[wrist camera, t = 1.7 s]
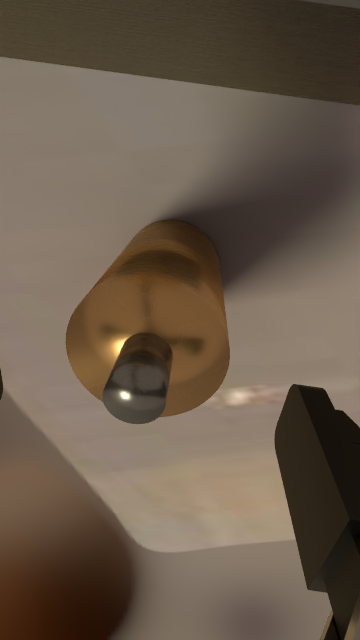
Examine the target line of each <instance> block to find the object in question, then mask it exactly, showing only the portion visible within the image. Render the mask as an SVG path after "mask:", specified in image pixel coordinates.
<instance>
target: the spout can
mask: <svg viewBox="0 0 360 640" xmlns="http://www.w3.org/2000/svg"><path fill="white" fill-rule="evenodd" d="M66 350H67V355H68V359H69V362H70V364H71V367H72V369H73V371H74V373H75V374H76V376H77V378H78V379H79V380H80V382H81V383H82V384H83V385H84V387H85V388H86V389H87V390H88V391H89V392H90V393H92V394H93V395H94V396H95V397H97V398H98V399H99V400H101V401H102V402H103V403H104V405H105V407H106V409H107V410H108V411H109V412H110V413H111V414H112V415H113V416H114V417H116V418H118V419H119V420H122V421H124V422H127V423H132V424H144V423H149V422H151V421H154V420H155V419H157V418H158V417H165V416H172V415H177V414H181V413H184V412H187V411H189V410H192V409H194V408H196V407H198V406H199V405H201V404H202V403H204V402H205V401H206V400H208V399H209V398H210V397H211V396H212V395H213V394H214V393H215V392H216V391H217V389H218V388H219V387H220V385H221V384H222V382H223V380H224V378H225V376H226V373H227V370H228V366H229V360H230V348H229V339H228V331H227V322H226V313H225V304H224V296H223V287H222V278H221V269H220V262H219V257H218V253H217V251H216V249H215V246H214V245H213V243H212V242H211V240H210V239H209V238H208V237H207V235H205V234H204V233H203V232H202V231H201V230H199V229H198V228H196V227H194V226H193V225H191V224H188V223H185V222H181V221H174V220H167V221H160V222H156V223H153V224H151V225H149V226H147V227H145V228H144V229H142V230H141V231H140V232H139V233H138V234H136V235H135V237H134V238H133V239H132V240H131V242H130V243H129V244H128V245H127V246H126V248H125V249H124V250H123V251H122V253H121V254H120V255H119V256H118V257H117V259H116V260H115V261H114V262H113V264H112V265H111V266H110V267H109V268H108V270H107V271H106V272H105V273H104V275H103V276H102V277H101V278H100V279H99V281H98V282H97V283H96V284H95V286H94V287H93V288H92V289H91V290H90V292H89V293H88V294H87V295H86V296H85V298H84V299H83V300H82V301H81V303H80V304H79V305H78V306H77V308H76V309H75V311H74V313H73V314H72V316H71V318H70V321H69V324H68V327H67V332H66Z"/></svg>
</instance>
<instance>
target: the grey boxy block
mask: <svg viewBox="0 0 360 640" xmlns="http://www.w3.org/2000/svg"><path fill="white" fill-rule="evenodd" d="M0 57H8V58H15V59H23V60H30V61H37V62H45V63H52V64H59V65H67V66H74V67H81V68H89V69H96V70H103V71H111V72H118V73H126V74H133V75H140V76H148V77H155V78H162V79H170V80H177V81H184V82H192V83H199V84H206V85H214V86H221V87H229V88H236V89H243V90H251V91H258V92H265V93H273V94H280V95H287V96H295V97H302V98H309V99H317V100H324V101H332V102H339V103H346V104H354V105H360V0H0Z"/></svg>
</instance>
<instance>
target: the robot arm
mask: <svg viewBox="0 0 360 640" xmlns="http://www.w3.org/2000/svg"><path fill="white" fill-rule="evenodd" d="M2 392H3V382H2V376H1V370H0V399H1V397H2ZM275 450H276V455H277V459H278V464H279V468H280V472H281V477H282V481H283V485H284V490H285V494H286V498H287V503H288V507H289V511H290V516H291V520H292V524H293V529H294V533H295V537H296V542H297V545H298V550H299V555H300V559H301V563H302V567H303V572H304V576H305V580H306V585H307V589H308V590H314V591H320V592H327V593H328V596H329V600H330V603H331V607H332V611H331V612H330V614H329V616H328V618H327V621H326V624H325V626H324V629H323V632H322V634H321V637H320V640H360V428H359V426H358V425H357V424H356V423H355V422H354V421H353V420H352V419H351V418H350V417H349V416H347V415H346V414H345V413H344V412H343V411H341V410H335V408H334V406H333V404H332V402H331V400H330V398H329V396H328V394H327V393H326V391H325V390H324V389H323V388H318V387H311V386H304V385H297V384H293V385H292V386H291V387H290V389H289V392H288V395H287V397H286V400H285V403H284V406H283V409H282V412H281V414H280V417H279V420H278V423H277V426H276V430H275Z"/></svg>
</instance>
